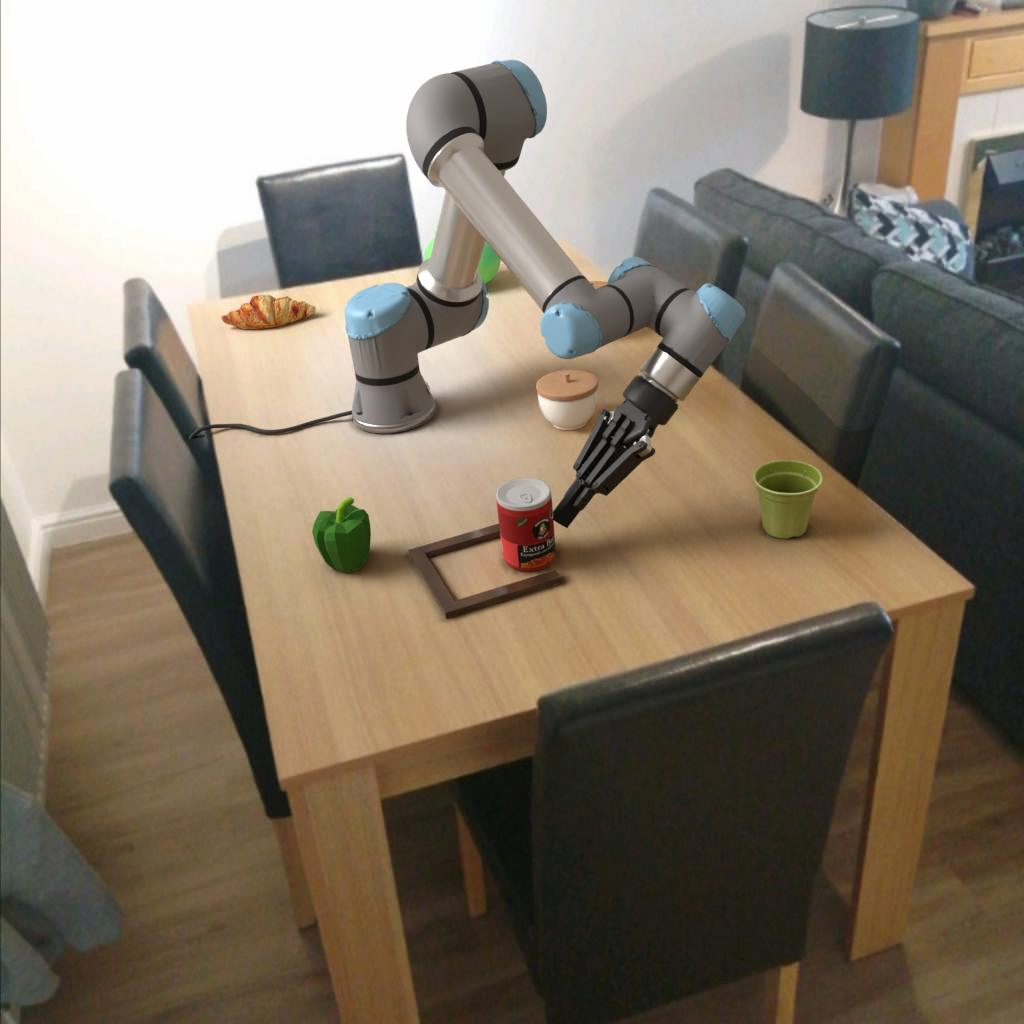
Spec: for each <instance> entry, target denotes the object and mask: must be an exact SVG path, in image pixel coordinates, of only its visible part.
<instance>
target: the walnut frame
mask: <svg viewBox="0 0 1024 1024" xmlns="http://www.w3.org/2000/svg"><path fill="white" fill-rule="evenodd" d="M496 538H501V536H500V528H499V523H496V524H493V525H489V526H485V527H483V528H479V529H475V530H472V531H468V532H465V533H461V534H457V535H455V536H452V537H447V538H443V539H440V540H438V541H434V542H432V543H427V544H423V545H421V546H418V547H414V548H410V549H408V550H407V551H408V556H409V559H410V560H411V562H412V563H413V565H414V567H415V568H416V570H417V572H418V573H419V575H420V577H421V578H422V580H423V582H424V584H425V585H426V588H427V589H428V590H429V592H430V594H431V595H432V598H433V599H434V601H435V603H436V604H437V606H438V608H439V610H440V611H441V613H442V615H443V616H444V618H445V619H449V618H454V617H456V616H459V615H463V614H466V613H470V612H472V611H476V610H478V609H482V608H485V607H488V606H492V605H495V604H498V603H500V602H501V603H502V602H504V601H507V600H511V599H514V598H517V597H520V596H523V595H526V594H530V593H533V592H536V591H540V590H542V589H545V588H549V587H552V586H556V585H558V584H562V583H563V577H562V576H561V574H560V573H559V572H558V570H557V569H553V570H549V571H546V572H543V573H540V574H537V575H533V576H530V577H527V578H524V579H521V580H518V581H515V582H510V583H508V584H505V585H501V586H498V587H494V588H492V589H489V590H486V591H482V592H479V593H475V594H472V595H468V596H465V597H463V598H459V599H456V600H455V599H454V598H453V596H452V595H451V593H450V591H449V590H448V588H447V587H446V585H445V582H443V579H442V578H441V577H440V575H439V574H438V572H437V570H436V568H435V567H434V566H433V564H432V562H431V561H430V559H429V558H431V557H435V556H439V555H442V554H445V553H449V552H452V551H455V550H459V549H463V548H465V547H469V546H473V545H475V544H476V545H477V544H479V543H484V542H487V541H490V540H493V539H496Z"/></svg>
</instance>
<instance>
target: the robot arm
mask: <svg viewBox="0 0 1024 1024" xmlns="http://www.w3.org/2000/svg"><path fill="white" fill-rule="evenodd" d="M547 119H548V104H547V99H546V94H545V93H544V89H543V85H542V83H541V82H540V79H539V77H538V76H537V75H536V73H535V72H534V71H533V70H532V68H530V67H529V66H528V65H527V64H526V63H524V62H522V61H520V60H518V59H507V60H494V61H491V62H490V63H487V64H483V65H477V66H474V67H470V68H465V69H461V70H456V71H452V72H446V73H441V74H438V75H435V76H433V77H431V78H429V79H428V80H426V81H425V82H424V83H422V84H421V86H419V88H418V89H417V90H416V92H415V93H414V94H413V97H412V99H411V101H410V103H409V106H408V109H407V114H406V120H405V121H406V122H405V123H406V124H405V126H406V127H405V129H406V130H405V131H406V138H407V143H408V146H409V150H410V153H411V155H412V157H413V160H414V162H415V163H416V166H417V167H418V168H419V170H420V171H421V173H422V175H423V176H425V178H426V179H427V181H428V182H429V183H430V184H431V185H432V186H433V187H436V188H443V189H444V190H445V192H444V196H443V201H442V205H441V208H440V209H441V210H440V214H439V218H438V222H437V226H436V227H437V230H436V234H435V235H434V237H435V239H434V243H433V248H432V252H431V256H430V258H428V259H426V260H425V261H424V260H423V261H422V262H421V264H419V267H418V270H417V274H416V279H415V282H414V283H413V284H411V285H408V286H405V285H403V284H401V283H398V282H385V283H384V282H383V283H382V284H380V285H378V284H373V285H371V286H368V287H365V288H364V289H361V290H359V291H358V292H356V293H355V294H354V295H352V296H351V297H350V298H349V299H348V301H347V303H346V305H345V308H344V320H345V321H344V322H345V327H344V328H345V332H346V334H347V338H348V343H349V349H350V355H351V360H352V366H353V370H354V376H355V387H354V392H353V400H352V405H351V406H352V408H351V410H347V411H343V412H339V413H336V414H332V415H328V416H324V417H321V418H316V419H313V420H309V421H306V422H303V423H300V424H297V425H293V426H290V427H289V426H288V427H285V428H280V429H279V428H277V429H264V428H259V427H256V426H252V425H249V424H244V423H213V424H207V425H203V426H200V427H198V428H196V429H194V431H193V432H192V433H191V434H190V435H189V436H188V440H193V439H194V438H195V437H196V436H197V435H198V434H200V433H202V432H203V431H204V432H205V431H207V430H211V429H212V430H213V429H232V428H233V429H235V428H236V429H244V430H248V431H251V432H254V433H258V434H262V435H275V434H285V433H290V432H293V431H297V430H300V429H303V428H308V427H311V426H314V425H317V424H320V423H325V422H328V421H332V420H335V419H339V418H344V417H347V416H352V421H353V424H354V425H355V427H357V428H358V429H360V430H362V431H364V432H367V433H371V434H372V433H373V434H395V433H402V432H405V431H409V430H414V429H416V428H418V427H420V426H422V425H424V424H427V422H429V421H430V420H431V419H433V417H434V415H435V413H436V402H435V399H434V396H433V394H432V392H431V387H430V385H429V383H428V381H427V380H425V379H424V377H423V375H422V372H421V368H420V361H419V353H422V352H425V351H427V350H429V349H431V348H435V347H438V346H440V345H442V344H445V343H447V342H450V341H453V340H456V339H458V338H462V337H465V336H466V335H469V334H470V333H472V332H473V331H475V330H477V329H478V328H480V327H481V326H482V324H483V323H484V322H485V320H486V318H487V316H488V313H489V307H490V300H489V298H488V296H487V295H488V292H489V291H488V289H487V288H488V287H487V285H486V284H485V283H484V282H483V280H482V278H481V276H480V274H479V272H478V267H479V264H480V260H481V257H482V253H483V249H484V246H485V242H486V241H487V243H488V244H489V245H490V246H491V248H492V249H493V250H494V251H495V253H496V254H497V255H498V256H499V258H500V259H501V262H502V263H503V264H504V265H505V267H506V268H507V269H508V270H509V271H510V273H511V274H512V275H513V277H514V278H515V280H517V282H519V285H521V286H522V288H523V289H524V290H525V292H526V293H527V294H528V295H529V297H530V298H531V299H532V300H533V302H534V303H535V304H536V306H537V307H538V308H539V309H540V310H541V312H542V313H543V315H542V317H541V319H540V326H539V327H540V335H541V336H542V337H543V338H544V340H545V341H544V344H545V346H546V347H547V349H548V350H549V351H550V353H552V354H553V356H556V357H558V358H559V359H562V360H573V359H576V358H579V357H582V356H585V355H589V354H592V353H594V352H595V351H597V350H598V349H601V348H603V347H605V346H606V345H608V344H611V343H613V342H615V341H617V340H619V339H622V338H625V337H627V336H630V335H632V334H633V333H634V334H635V333H636V332H638V331H641V330H642V329H645V328H648V329H649V330H651V331H653V332H654V333H655V334H657V335H658V336H659V337H661V338H662V339H661V341H660V342H659V343H658V345H657V346H656V347H655V348H654V350H653V351H652V352H651V353H650V355H649V356H648V357H647V359H645V362H644V363H643V364H642V365H641V366H640V370H639V371H640V372H641V374H640V375H639V374H637V375H635V376H634V377H633V378H632V379H631V380H630V382H629V383H628V385H626V387H625V388H624V390H623V392H622V397H623V398H624V401H623V402H621V403H620V404H619V405H618V406H616V408H615V409H614V410H610V411H609V410H608V409H606V408H602V409H601V410H600V411H599V414H598V417H597V421H596V424H595V425H594V427H593V429H592V431H591V432H590V434H589V436H588V438H587V440H586V441H585V443H584V445H583V447H582V449H581V451H580V452H579V454H578V457H577V458H576V459H575V462H574V463H573V465H572V469H573V470H574V471H575V474H576V475H575V479H574V481H573V482H572V483H571V484H570V485H569V487H568V488H567V490H566V491H565V493H564V495H563V498H562V499H561V500H560V502H559V503H558V504H557V505H556V507H554V509H553V520H554V523H555V522H556V523H557V524H558V525H560V526H562V527H564V528H565V529H568V528H569V527H570V525H571V524H572V523H573V521H574V520H575V519H576V517H577V516H578V515H579V514H580V512H582V511H584V509H585V508H586V507H587V506H588V504H589V503H590V502H591V500H592V499H593V498H594V496H595V495H598V494H600V495H603V496H605V497H606V496H608V495H609V494H611V492H612V491H614V489H616V488H617V487H618V486H619V485H620V484H621V483H622V482H623V481H624V480H626V478H627V477H628V476H629V475H630V474H632V472H634V470H635V469H637V467H639V466H640V464H642V463H643V462H644V461H646V460H647V459H650V458H651V457H653V456H654V455H655V454H656V448H654V447H653V446H652V444H651V443H652V442H651V438H652V437H654V435H655V432H656V429H657V427H658V426H659V425H660V426H666V425H667V424H668V423H669V421H670V420H671V419H672V417H673V416H674V414H675V413H676V412H677V411H678V409H679V404H678V402H679V401H680V402H681V401H682V402H684V401H685V400H686V398H687V397H688V396H689V395H690V393H691V392H692V390H693V389H694V388H695V386H696V385H697V384H698V382H699V381H700V379H702V377H703V376H704V374H705V373H706V372H707V370H708V369H710V366H711V365H712V364H713V362H714V361H715V360H716V359H717V357H719V355H720V354H721V353H722V351H723V350H724V349H725V348H726V346H727V345H728V344H729V343H731V342H732V339H733V337H734V336H735V334H736V332H737V331H738V330H739V328H740V327H741V325H742V324H743V322H744V321H745V319H746V311H745V309H744V307H743V306H742V305H741V304H740V302H739V301H737V300H736V299H734V298H733V297H732V296H731V295H729V294H728V293H727V292H726V291H724V290H722V289H721V288H720V287H718V286H716V285H714V284H712V283H708V282H707V283H705V284H704V283H703V285H702V286H701V287H700V288H699V289H697V291H695V290H693V289H690V288H688V287H687V286H686V285H684V284H683V283H681V282H680V281H678V280H677V279H675V277H672V276H671V275H669V274H668V273H667V272H665V271H664V270H662V268H661V267H659V266H657V265H655V264H653V263H650V262H649V261H647V260H645V259H644V258H642V257H638V256H631V257H627V258H625V259H624V260H622V261H621V263H620V264H619V265H618V266H615V268H614V269H613V270H612V272H611V273H610V276H609V277H608V280H607V282H608V283H607V285H605V286H602V287H600V288H598V289H595V288H594V287H593V286H592V284H591V283H590V282H589V281H590V280H589V279H588V278H587V277H586V276H585V275H584V274H583V273H582V272H581V270H580V269H579V268H578V266H577V265H576V264H575V263H574V261H572V259H571V258H570V257H569V256H568V254H567V253H566V252H565V251H564V249H563V247H561V245H559V243H558V242H557V241H556V240H555V239H554V237H553V236H552V234H551V233H550V232H549V231H548V230H547V228H546V227H545V225H544V224H542V222H541V221H540V220H539V218H538V217H537V216H536V215H535V214H534V212H533V211H532V210H531V208H530V207H529V206H528V205H527V204H526V203H525V201H524V200H523V199H522V197H521V196H520V195H519V194H518V193H517V192H516V190H515V189H514V187H513V186H512V184H511V183H510V182H509V181H508V179H506V178H505V176H506V175H505V174H506V171H508V170H510V169H512V168H515V166H516V165H517V164H518V162H519V160H520V157H521V154H522V150H523V148H524V144H525V141H527V139H533V138H536V136H537V135H539V134H540V133H542V131H543V130H544V128H545V127H546V123H547Z"/></svg>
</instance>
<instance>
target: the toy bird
mask: <svg viewBox="0 0 1024 1024" xmlns="http://www.w3.org/2000/svg"><path fill="white" fill-rule="evenodd" d="M436 230H437V226H436V227H434V228H433V232H434V234H435V235H436ZM434 239H435V236H434V237H433V238H432V239H431V240H430V241H429V242H428V244H427V246H426V248H425V251H424V257H423V261H425V260H426V259H428V258H430V256H431V252H432V248H433V243H434ZM501 262H502V260H501V259H500V258H499V256H498V255H497V254H496V253H495V251H494V250H493V249H492V248H491V246H490V245H489V244H488V243H487V241H486V242H485V246H484V249H483V253H482V257H481V260H480V264H479V267H478V272H479V274H480V276H481V278H482V280H483V282H484V283H485V285H486V284H488V283H489V282H490V281H492V280H493V279H494V278H495V276H497V273H498V272H499V269H500V266H501Z"/></svg>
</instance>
